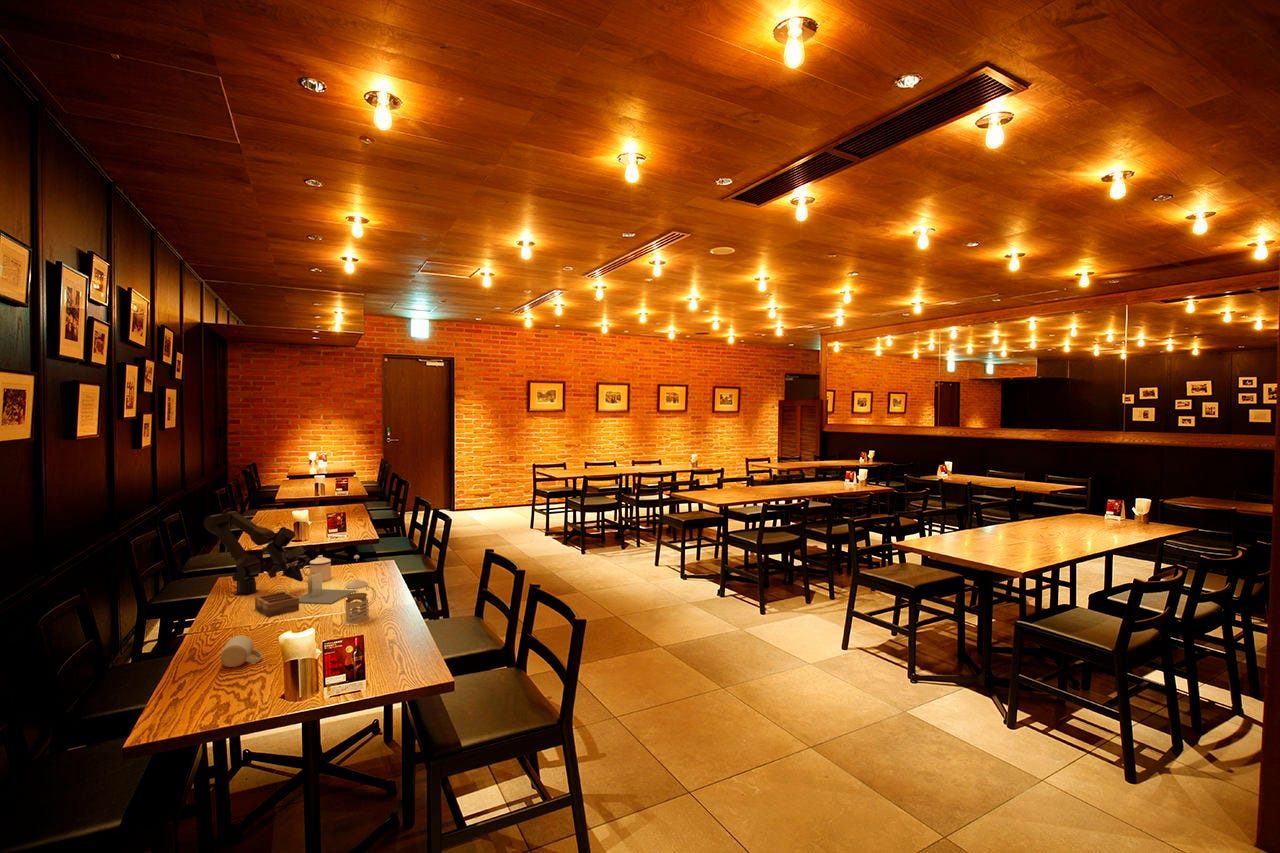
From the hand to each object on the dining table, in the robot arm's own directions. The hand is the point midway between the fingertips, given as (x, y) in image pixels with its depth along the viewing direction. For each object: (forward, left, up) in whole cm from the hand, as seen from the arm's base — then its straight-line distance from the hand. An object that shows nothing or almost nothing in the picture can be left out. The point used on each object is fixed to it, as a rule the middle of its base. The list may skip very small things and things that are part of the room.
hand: (302, 580), depth 257 cm
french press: (+41, -26, -7) cm, 49 cm away
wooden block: (+6, 0, -6) cm, 9 cm away
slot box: (+2, -18, -7) cm, 19 cm away
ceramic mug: (+26, -66, -7) cm, 72 cm away
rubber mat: (+10, 0, -7) cm, 12 cm away
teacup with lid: (-9, +24, -7) cm, 27 cm away
